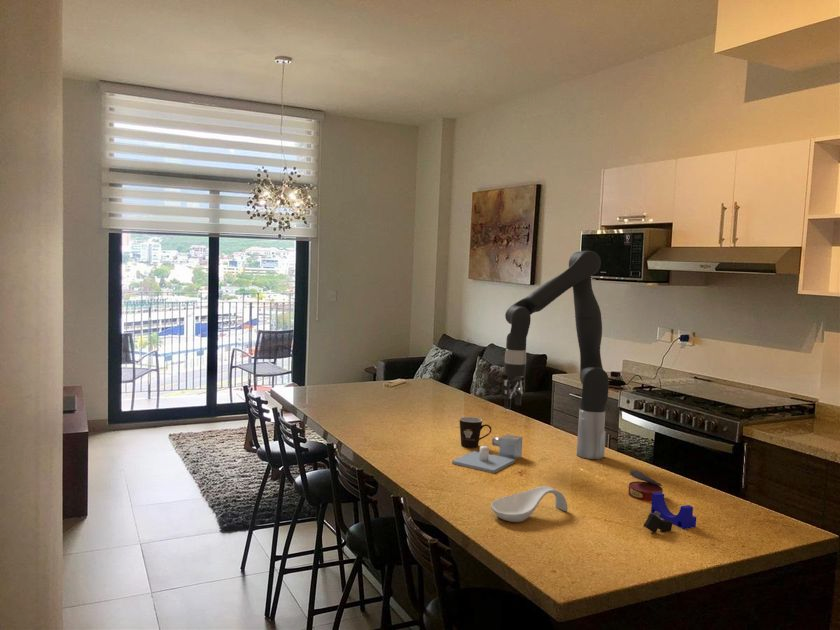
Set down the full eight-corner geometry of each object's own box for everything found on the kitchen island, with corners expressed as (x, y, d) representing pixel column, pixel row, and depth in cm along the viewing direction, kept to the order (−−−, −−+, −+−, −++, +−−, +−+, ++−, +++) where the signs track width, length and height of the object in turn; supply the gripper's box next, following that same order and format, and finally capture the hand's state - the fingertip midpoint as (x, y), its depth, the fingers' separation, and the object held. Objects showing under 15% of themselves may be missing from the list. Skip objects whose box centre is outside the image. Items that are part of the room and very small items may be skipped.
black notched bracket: (660, 537, 178) (669, 520, 179) (665, 540, 177) (675, 523, 177) (641, 524, 176) (651, 507, 176) (646, 527, 174) (656, 510, 174)
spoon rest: (507, 530, 174) (509, 503, 173) (481, 514, 184) (483, 489, 183) (576, 516, 185) (577, 491, 185) (548, 502, 196) (549, 478, 195)
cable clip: (695, 527, 181) (697, 506, 180) (683, 529, 179) (684, 508, 178) (662, 512, 192) (664, 491, 191) (650, 514, 190) (652, 493, 189)
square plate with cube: (514, 462, 234) (515, 446, 233) (493, 473, 220) (494, 456, 220) (474, 453, 242) (475, 438, 242) (452, 463, 229) (452, 447, 228)
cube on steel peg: (521, 456, 241) (522, 437, 240) (514, 460, 236) (515, 440, 235) (497, 451, 246) (498, 432, 246) (489, 455, 241) (490, 435, 240)
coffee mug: (453, 445, 252) (454, 419, 252) (467, 441, 259) (469, 415, 258) (477, 451, 244) (479, 425, 244) (491, 447, 251) (493, 421, 250)
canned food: (627, 506, 208) (621, 474, 212) (659, 505, 207) (653, 472, 211) (635, 501, 197) (629, 467, 201) (670, 499, 197) (663, 465, 201)
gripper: (516, 365, 230) (513, 411, 231) (533, 361, 241) (530, 405, 243) (496, 362, 234) (494, 408, 235) (514, 358, 246) (511, 402, 247)
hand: (512, 406), depth 239 cm, fingers open, 8 cm apart
